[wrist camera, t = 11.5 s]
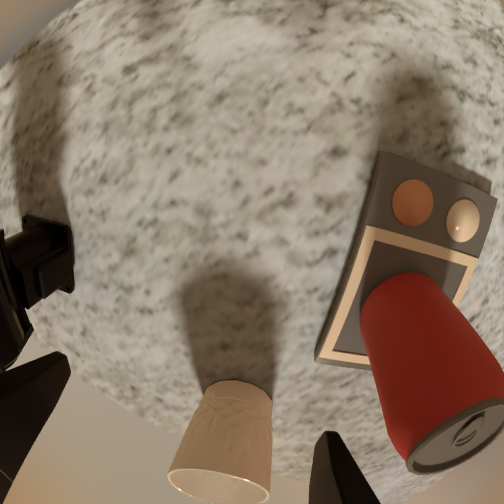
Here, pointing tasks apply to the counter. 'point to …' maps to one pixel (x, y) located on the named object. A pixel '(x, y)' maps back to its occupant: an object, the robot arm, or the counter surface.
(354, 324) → the slate card
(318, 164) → the counter surface
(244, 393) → the white cup
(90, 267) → the counter surface
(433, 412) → the beer can
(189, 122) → the counter surface
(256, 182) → the counter surface
